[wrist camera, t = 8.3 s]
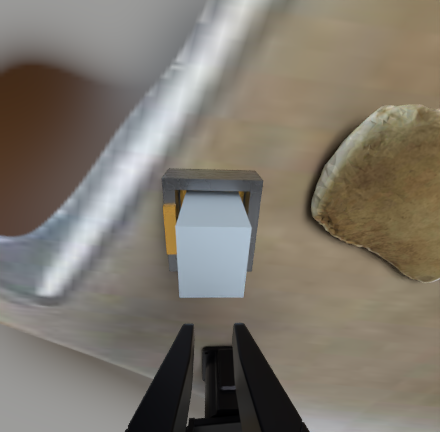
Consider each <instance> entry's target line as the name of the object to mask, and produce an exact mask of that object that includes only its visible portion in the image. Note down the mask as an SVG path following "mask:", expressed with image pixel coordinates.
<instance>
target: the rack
mask: <svg viewBox="0 0 440 432" xmlns="http://www.w3.org/2000/svg"><path fill="white" fill-rule="evenodd" d="M262 186H263V180H262V178H261V177H260V176H259V175H258V174H257V172H256V171H243V170H205V169H168V171H167V172H166V173H165V175H164V176H163V177H162V187H163V199H164V205H163V214H164V226H165V238H166V249H167V254H168V259H169V271H178V264H177V246H176V228H175V226H176V223H177V220H178V216H179V213H180V210H181V207H182V204H183V200H184V197H185V194H186V191H187V190H202V191H238V192H239V195H240V198H241V200H242V203H243V206H244V208H245V211H246V214H247V216H248V219H249V222H250V224H251V227H252V229H251V238H250V246H249V255H248V263H247V271H252V265H253V257H254V249H255V241H256V234H257V226H258V218H259V210H260V202H261V194H262Z"/></svg>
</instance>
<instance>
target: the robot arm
mask: <svg viewBox="0 0 440 432" xmlns="http://www.w3.org/2000/svg"><path fill="white" fill-rule="evenodd" d="M232 344H233V347H205V348H203V377H202V379H203V381H205V418H199V419H195V418H189V424H188V426H187V427H186V424H187V417H188V411H189V404H190V398H191V390H192V378H193V359H194V324H184V325H183V326H182V328H181V330H180V331H179V333H178V335H177V337H176V339H175V341H174V342H173V344H172V346H171V348H170V350H169V352H168V353H167V355H166V357H165V359H164V361H163V363H162V364H161V366H160V368H159V370H158V372H157V374H156V375H155V377H154V379H153V381H152V383H151V385H150V386H149V388H148V390H147V392H146V394H145V396H144V397H143V399H142V401H141V403H140V405H139V407H138V409H137V410H136V412H135V414H134V416H133V418H132V420H131V421H130V423H129V425H128V429H126V430H125V432H309V430H308V428H307V427H306V425H305V423H304V422H302V419H301V417H300V415H299V414H298V412H297V410H296V409H295V407H294V405H293V404H292V402H291V400H290V399H289V397H288V395H287V394H286V392H285V390H284V389H283V387H282V385H281V384H280V382H279V380H278V379H277V377H276V375H275V374H274V372H273V370H272V369H271V367H270V365H269V364H268V362H267V361H266V359H265V357H264V356H263V354H262V352H261V351H260V349H259V347H258V346H257V344H256V342H255V341H254V339H253V337H252V336H251V334H250V332H249V331H248V329H247V327H246V326H245V324H244V323H235V324H234V325H233V336H232Z"/></svg>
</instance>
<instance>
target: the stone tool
mask: <svg viewBox="0 0 440 432" xmlns="http://www.w3.org/2000/svg"><path fill="white" fill-rule="evenodd" d="M311 212H312V216H313V218H314V219H315V220H316V221H318V222H319V224H320V225H323V226H324V228H325V230H326V231H328V232H329V233H330V234H331V235H332V236H334V237H337V238H338V239H340V240H341V241H344V242H345V243H348V244H353V245H355V246H356V247H362V246H363V247H364V248H367V249H368V250H369V251H371V252H374V253H376V254H378V255H379V256H381V257H382V258H383V259H385V260H387V261H388V262H390V263H391V264H392V265H394V266H395V267H396V268H397V269H399V270H400V272H402V273H403V274H404V275H406V276H408V277H409V278H411V279H415V280H418V281H421V282H423V283H431V282H434V281H436V280H439V279H440V109H430V108H427V107H425V106H423V105H401V106H391V105H386V106H382V107H381V108H379V109H378V110H376V111H375V112H374V113H373V114H371V115H370V116H369V117H368V118H367V119H366V120H365V121H364V122H363V123H362V124H361V125H360V126H359V127H357V128H356V129H355V130H354V131H353V132H352V133H351V134H350V135H349V136H348V137H347V138H346V139H345V140H344V141H343V142H342V144H341V145H340V147H339V148H338V149H337V151H336V152H335V154H334V155H333V156H332V157H331V159H330V160H329V161H328V162H327V164H326V165H325V166H324V168H323V170H322V173H321V176H320V179H319V181H318V183H317V186H316V189H315V193H314V196H313V198H312V203H311Z"/></svg>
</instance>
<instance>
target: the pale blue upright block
mask: <svg viewBox="0 0 440 432" xmlns="http://www.w3.org/2000/svg"><path fill="white" fill-rule="evenodd" d="M175 228H176V246H177V264H178V281H179V298H213V297H244V288H245V280H246V272H247V263H248V255H249V246H250V238H251V229H252V227H251V224H250V222H249V219H248V216H247V214H246V211H245V208H244V206H243V203H242V200H241V198H240V195H239V192H238V191H202V190H187V191H186V194H185V197H184V200H183V204H182V207H181V210H180V213H179V216H178V220H177V223H176V226H175Z"/></svg>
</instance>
